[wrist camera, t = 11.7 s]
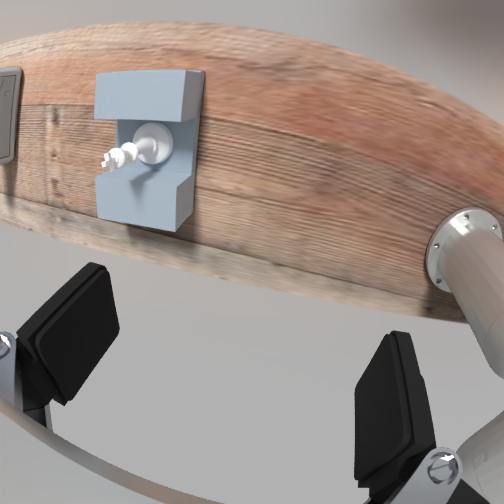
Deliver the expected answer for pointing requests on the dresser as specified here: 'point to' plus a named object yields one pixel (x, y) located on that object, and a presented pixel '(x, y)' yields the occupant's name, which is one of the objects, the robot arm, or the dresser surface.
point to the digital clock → (8, 110)
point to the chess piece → (142, 147)
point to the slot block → (138, 173)
